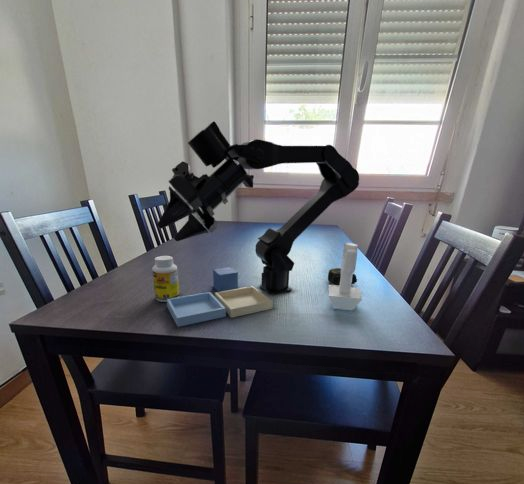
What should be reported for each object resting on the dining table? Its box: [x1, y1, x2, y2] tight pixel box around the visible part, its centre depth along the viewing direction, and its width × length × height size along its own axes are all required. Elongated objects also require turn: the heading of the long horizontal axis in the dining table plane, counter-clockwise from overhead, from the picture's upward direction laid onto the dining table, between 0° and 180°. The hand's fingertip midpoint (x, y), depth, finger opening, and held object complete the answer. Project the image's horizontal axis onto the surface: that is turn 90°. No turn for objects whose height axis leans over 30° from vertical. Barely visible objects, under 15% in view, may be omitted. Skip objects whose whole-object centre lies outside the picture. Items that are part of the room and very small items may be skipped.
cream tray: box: [214, 285, 274, 319], centre depth 66 cm, size 10×10×2 cm
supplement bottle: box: [151, 255, 180, 303], centre depth 67 cm, size 6×6×10 cm
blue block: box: [212, 266, 239, 292], centre depth 74 cm, size 5×5×5 cm
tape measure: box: [327, 267, 358, 286], centre depth 80 cm, size 7×7×4 cm
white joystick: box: [328, 241, 363, 311], centre depth 64 cm, size 7×9×15 cm
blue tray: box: [166, 291, 227, 328], centre depth 62 cm, size 10×10×2 cm
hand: (167, 233), depth 60 cm, fingers open, 9 cm apart
